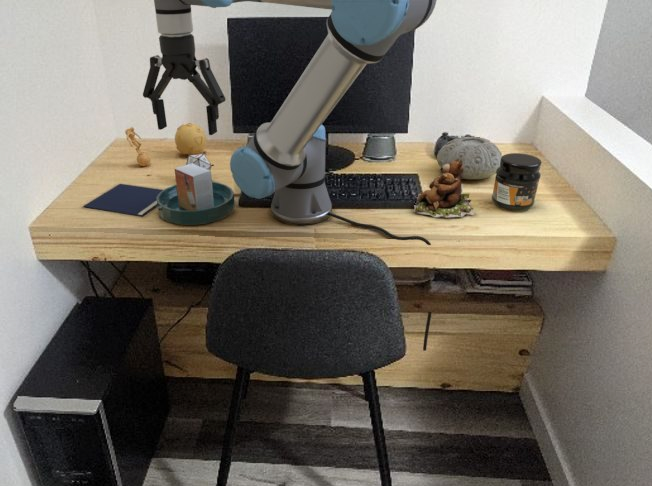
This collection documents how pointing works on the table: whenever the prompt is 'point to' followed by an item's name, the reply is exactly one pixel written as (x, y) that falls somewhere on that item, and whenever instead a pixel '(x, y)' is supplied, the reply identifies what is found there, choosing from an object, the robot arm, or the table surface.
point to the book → (127, 200)
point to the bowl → (179, 215)
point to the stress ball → (190, 139)
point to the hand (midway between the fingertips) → (187, 130)
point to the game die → (199, 161)
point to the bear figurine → (445, 194)
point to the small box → (194, 187)
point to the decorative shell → (471, 156)
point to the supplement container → (516, 181)
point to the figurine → (142, 158)
